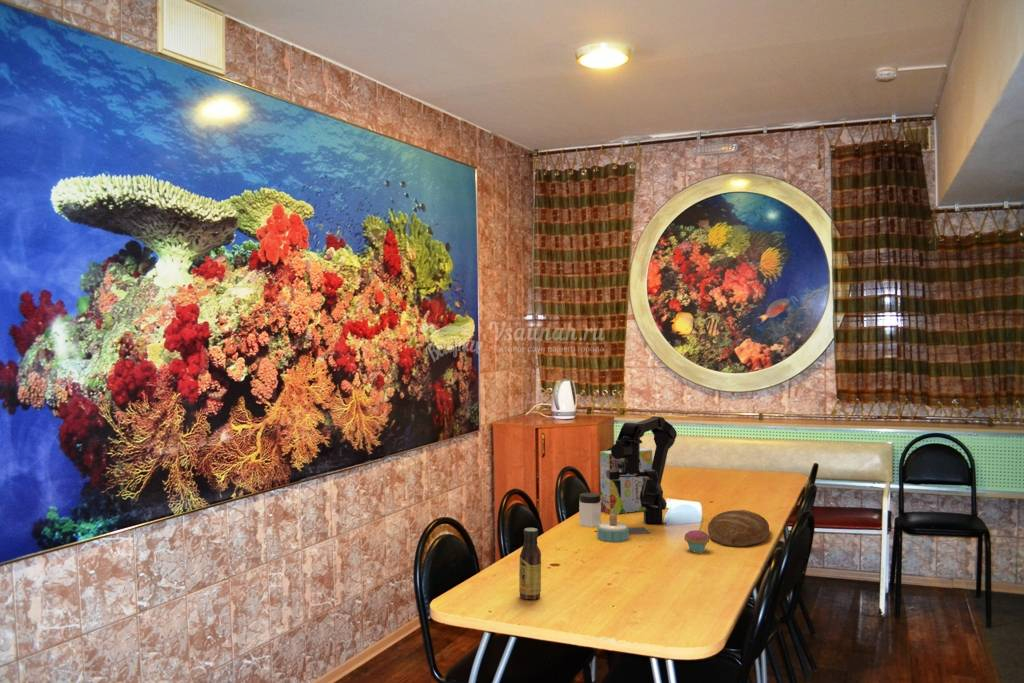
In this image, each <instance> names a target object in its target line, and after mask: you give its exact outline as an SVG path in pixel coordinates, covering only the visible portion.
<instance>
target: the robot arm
mask: <svg viewBox="0 0 1024 683" xmlns="http://www.w3.org/2000/svg"><path fill="white" fill-rule="evenodd" d="M647 432H651V433H652V434H653V442H654V444H655V449H654V454H653V457H652V467H651V469H644V472H640V470H639V466H640V448H641V444H643V441H642V439H640V438H642V437H644V435H645V433H647ZM677 435H678V433H677V429H676V428H675V427H674V426H673V424H671V423H669V422H668V421H667V420H666V419H665V418H664V417H662V416H656V415H655V416H651V417H649V418H646V419H644V420H640V421H638V422H631V421H629V422H624V423H623V424H622V426H621V428H620V431H619V434H618V436H617V439H616V440H615V444H613V445H612V447H611V448H610V451H611V454H612V456H613V457H614V458H615V459H622V458H624V461H623V462H622V460H617V461H616V468H617V469H621V472H619V471H617V470H607V472H606V477H607V478H608V479H610V480H611V481H613V482H614V484H615V486H616V489H617V492H618V495H619V497H621V480H619V478H620V477H643V485H642V489H641V492H640V502H641V507H645V511H643V522H644V523H645V524H646V525H647V526H654V525H657V526H659V525H664V522H663V511H665V510H666V509H667V501H666V500H665V498H664V495H663V494H664V491H663V487H662V485H661V484H662V479H663V475H664V471H665V466H666V463H667V462H666V461H667V457H668V454H669V453H668V452H669V450H670V449H671V448H672V447H673V446H674V443H675V442H676V438H677ZM635 474H637V475H635Z"/></svg>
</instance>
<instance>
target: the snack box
mask: <svg viewBox="0 0 1024 683" xmlns="http://www.w3.org/2000/svg"><path fill="white" fill-rule="evenodd" d="M599 458H600V459H599V463H600V464H599V465H600V466H599V468H600V469H599V470H600V472H599V473H600V474H599V475H600V479H599V481H600V496H601V500H600V502H601V512H602V511H603V512H602V513H604V512H605V513H604V514H607V513H608V514H607V515H609V514H610V513H615V514H617V515H619V514H618V513H621V514H626V513H627V512H629V513H636V512H635V511H637V512H644V511H643V510H645V507H641V502H640V492H641V489H642V485H643V477H620V478H619V480H621V497H619V495H618V492H617V489H616V486H615V484H614V482H613V481H611V480H610V479H608V478H607V477H606V472H607V470H617V471H619V472H621V469H617V468H616V461H617V460H622V462H623V461H624V458H622V459H615V458H614V457H613V456H612V454H611V450H604V451H603V450H602V451H599ZM652 463H653V449H649V448H644V447H640V466H639V470H640V472H644V469H651V467H652ZM635 475H637V474H635Z"/></svg>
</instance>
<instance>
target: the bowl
mask: <svg viewBox="0 0 1024 683" xmlns="http://www.w3.org/2000/svg"><path fill="white" fill-rule="evenodd" d="M629 528H630V527H627V530H625V531H619V532H611V531H604V530H601V529H600V528H599V526H596V536H597V539H598V540H599V541H602V542H608V543H622V542H626V541H628V540H629V537H630V534H629Z"/></svg>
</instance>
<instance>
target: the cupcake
mask: <svg viewBox="0 0 1024 683" xmlns="http://www.w3.org/2000/svg"><path fill="white" fill-rule="evenodd" d="M703 521H704V517H702V518H701V519H700V526H699V529H696V530H695V529H694V530H689V531H688V532H686V533H684V536H683V537H684V541H685V542H687V545H688V548H689V551H690V550H691V551H695V552H694V553H696V552H701V553H703V552H702V551H704V552H705V548H706V547H707V546H706V545H707V544H708V543H709V542H710V538H711V537H710V536H709V533H708V532H705V531H703V530H702V528H703V523H704V522H703ZM691 551H690V552H691Z"/></svg>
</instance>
